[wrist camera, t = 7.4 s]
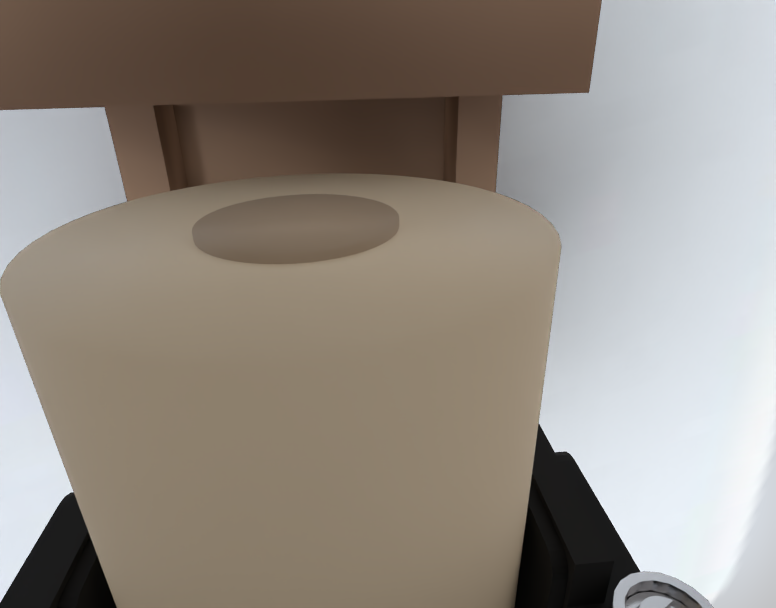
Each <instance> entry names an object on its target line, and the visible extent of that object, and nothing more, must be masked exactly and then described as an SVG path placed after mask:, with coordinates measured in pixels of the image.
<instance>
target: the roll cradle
mask: <svg viewBox="0 0 776 608" xmlns="http://www.w3.org/2000/svg"><path fill="white" fill-rule="evenodd" d="M601 2H602V0H0V110H17V109H51V108H84V107H105V111H106V115H107V119H108V123H109V127H110V131H111V136H112V140H113V144H114V148H115V152H116V156H117V161H118V165H119V169H120V173H121V177H122V181H123V186H124V190H125V194H126V198H127V202H128V201H132V200H135V199H139V198H143V197H147V196H151V195H155V194H159V193H164V192H168V191H173V190H178V189H183V188H188V187H194V186H200V185H206V184H212V183H219V182H226V181H233V180H241V179H250V178H259V177H271V176H284V175H301V174H380V175H397V176H408V177H419V178H426V179H434V180H441V181H447V182H453V183H459V184H463V185H468V186H472V187H477V188H481V189H484V190H488V191H491V192H496V178H497V164H498V150H499V136H500V122H501V108H502V95H523V94H557V93H589V88H590V81H591V74H592V67H593V59H594V52H595V45H596V38H597V31H598V23H599V16H600V9H601Z"/></svg>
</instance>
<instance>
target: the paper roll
mask: <svg viewBox="0 0 776 608" xmlns="http://www.w3.org/2000/svg"><path fill="white" fill-rule="evenodd" d="M560 253H561V242H560V238H559V234H558V233H557V231H556V229H555V228H554V226H553V225H552V224H551V223H550V222H549V221H548V220H547V219H546V218H545V217H544V216H543V215H542V214H540V213H538V212H537V211H535V210H534V209H532V208H531V207H529V206H527V205H525V204H523V203H521V202H518V201H516V200H514V199H512V198H509V197H506V196H503V195H501V194H498V193H495V192H491V191H488V190H484V189H481V188H477V187H472V186H468V185H463V184H459V183H453V182H447V181H441V180H434V179H426V178H419V177H408V176H397V175H380V174H301V175H284V176H271V177H259V178H250V179H241V180H233V181H226V182H219V183H212V184H206V185H200V186H194V187H188V188H183V189H178V190H173V191H168V192H164V193H159V194H155V195H151V196H147V197H143V198H139V199H135V200H132V201H128V202H125V203H121V204H118V205H114V206H111V207H108V208H105V209H102V210H99V211H96V212H93V213H91V214H88V215H86V216H83V217H81V218H78V219H76V220H73V221H71V222H69V223H67V224H65V225H62V226H60V227H58V228H56V229H54V230H52V231H50V232H49V233H47V234H45V235H43V236H42V237H40V238H38V239H37V240H35V241H33V242H32V243H31V244H30V245H28V246H27V247H26V248H24V249H23V250H22V251H20V252H19V253H18V254H17V255H16V256H15V257H14V259H13V260H12V261H11V262H10V263H9V264H8V265H7V267H6V269H5V271H4V273H3V275H2V277H1V280H0V295H1V298H2V300H3V303H4V306H5V308H6V311H7V314H8V316H9V319H10V322H11V324H12V327H13V330H14V333H15V335H16V338H17V341H18V343H19V346H20V349H21V351H22V354H23V357H24V359H25V362H26V365H27V368H28V370H29V373H30V376H31V378H32V381H33V384H34V386H35V389H36V392H37V394H38V397H39V400H40V403H41V405H42V408H43V411H44V413H45V416H46V419H47V421H48V424H49V427H50V429H51V432H52V435H53V438H54V440H55V443H56V446H57V448H58V451H59V454H60V456H61V459H62V462H63V464H64V467H65V470H66V472H67V475H68V478H69V481H70V483H71V486H72V489H73V491H74V494H75V497H76V499H77V502H78V505H79V507H80V510H81V513H82V516H83V518H84V521H85V524H86V526H87V529H88V532H89V534H90V537H91V540H92V542H93V545H94V548H95V551H96V553H97V556H98V559H99V561H100V564H101V567H102V569H103V572H104V575H105V577H106V580H107V583H108V586H109V588H110V591H111V594H112V596H113V599H114V602H115V604H116V607H117V608H515V601H516V593H517V585H518V577H519V570H520V562H521V554H522V547H523V539H524V531H525V523H526V516H527V508H528V500H529V492H530V485H531V477H532V469H533V462H534V454H535V446H536V438H537V431H538V423H539V415H540V407H541V400H542V392H543V384H544V376H545V369H546V361H547V353H548V346H549V338H550V330H551V322H552V315H553V307H554V299H555V291H556V284H557V276H558V268H559V261H560Z"/></svg>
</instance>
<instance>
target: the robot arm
mask: <svg viewBox="0 0 776 608" xmlns="http://www.w3.org/2000/svg"><path fill="white" fill-rule="evenodd" d="M0 608H117V607H116V604H115V602H114V599H113V596H112V594H111V591H110V588H109V586H108V583H107V580H106V577H105V575H104V572H103V569H102V567H101V564H100V561H99V559H98V556H97V553H96V551H95V548H94V545H93V542H92V540H91V537H90V534H89V532H88V529H87V526H86V524H85V521H84V518H83V516H82V513H81V510H80V507H79V505H78V502H77V499H76V497H75V494H74V492H73V493H70V494H68V495H67V496H65V497H64V499H63V500H62V501H61V503H60V504H59V506H58V507H57V509H56V511H55V512H54V514H53V516H52V517H51V519H50V521H49V522H48V524H47V526H46V527H45V529H44V531H43V532H42V534H41V536H40V537H39V539H38V541H37V542H36V544H35V546H34V547H33V549H32V551H31V552H30V554H29V556H28V557H27V559H26V561H25V562H24V564H23V566H22V567H21V569H20V571H19V572H18V574H17V576H16V577H15V579H14V581H13V582H12V584H11V586H10V587H9V589H8V591H7V592H6V594H5V596H4V597H3V599H2V601H1V602H0ZM515 608H713V606H712V605H711V604H710V603H709V601H708V600H707V599H706V598H704V597H703V596H702V595H701V594H700V593H699V592H697V591H696V590H695V589H694V588H693V587H691V586H689V585H687V584H686V583H684V582H682V581H680V580H679V579H677V578H674V577H671V576H668V575H665V574H662V573H658V572H647V571H643V572H640V570H639V569H638V567H637V565H636V564H635V562H634V560H633V559H632V557H631V555H630V553H629V552H628V550H627V548H626V547H625V545H624V543H623V542H622V540H621V538H620V536H619V535H618V533H617V531H616V530H615V528H614V526H613V525H612V523H611V521H610V519H609V518H608V516H607V514H606V513H605V511H604V509H603V508H602V506H601V504H600V503H599V501H598V499H597V497H596V496H595V494H594V492H593V491H592V489H591V487H590V486H589V484H588V482H587V480H586V479H585V477H584V475H583V474H582V472H581V470H580V469H579V467H578V465H577V463H576V462H575V460H574V459H573V457H572V456H571V455H570V454H569V453H567V452H554V450H553V448H552V447H551V445H550V443H549V441H548V439H547V438H546V436H545V434H544V432H543V430H542V429H541V427H540V425H539V423H538V431H537V438H536V446H535V454H534V462H533V469H532V477H531V485H530V492H529V500H528V508H527V516H526V523H525V531H524V539H523V547H522V554H521V562H520V570H519V577H518V585H517V593H516V601H515Z"/></svg>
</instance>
